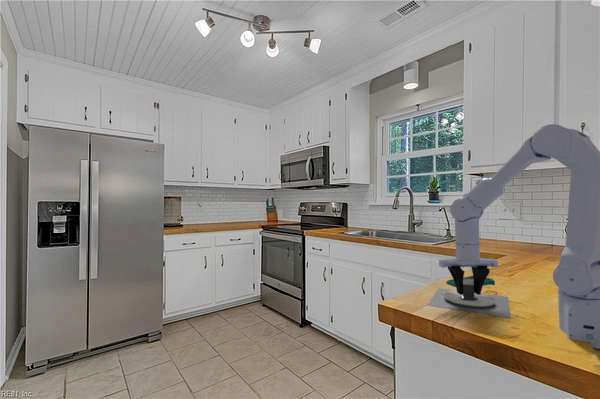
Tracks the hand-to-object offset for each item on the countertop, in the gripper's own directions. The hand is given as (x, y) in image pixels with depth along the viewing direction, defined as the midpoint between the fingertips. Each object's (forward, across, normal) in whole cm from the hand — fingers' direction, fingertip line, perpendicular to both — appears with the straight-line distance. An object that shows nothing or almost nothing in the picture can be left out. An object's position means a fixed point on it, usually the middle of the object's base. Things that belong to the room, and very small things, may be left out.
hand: (468, 293), depth 81 cm
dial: (+2, 0, 0) cm, 2 cm away
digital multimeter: (+4, -9, -18) cm, 21 cm away
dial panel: (+3, 0, 0) cm, 3 cm away
